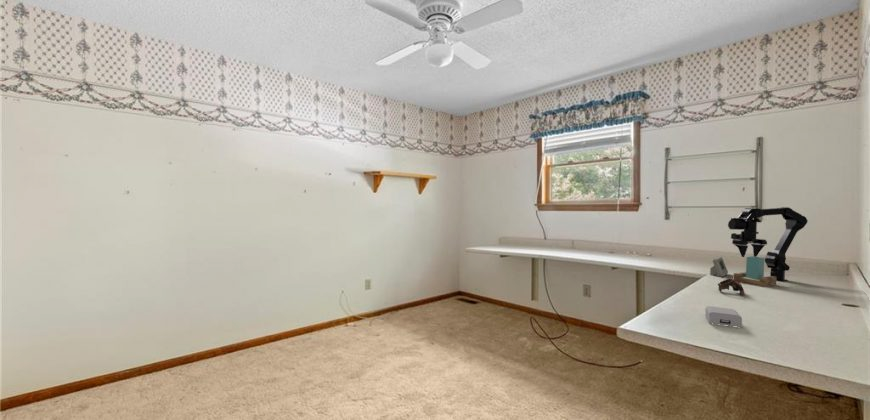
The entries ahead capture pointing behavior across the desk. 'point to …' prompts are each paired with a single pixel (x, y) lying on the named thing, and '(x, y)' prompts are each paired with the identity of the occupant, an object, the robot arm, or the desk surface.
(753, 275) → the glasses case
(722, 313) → the charger
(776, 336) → the desk surface
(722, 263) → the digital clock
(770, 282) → the display stand
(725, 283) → the brown curved arch
